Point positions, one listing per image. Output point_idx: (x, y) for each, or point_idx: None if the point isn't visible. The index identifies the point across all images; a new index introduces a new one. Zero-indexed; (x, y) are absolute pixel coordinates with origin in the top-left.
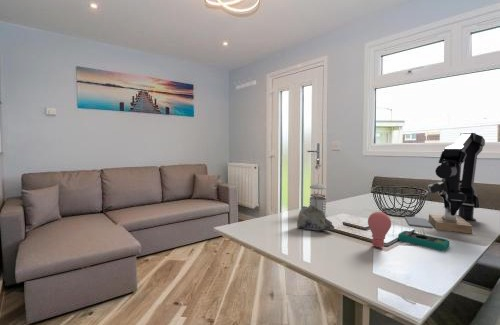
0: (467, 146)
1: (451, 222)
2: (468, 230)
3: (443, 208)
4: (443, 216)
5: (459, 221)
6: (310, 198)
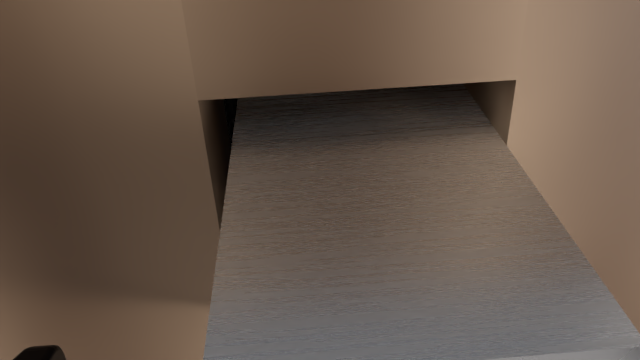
0: None
1: (29, 222)
2: None
3: (524, 299)
4: (389, 143)
5: None
6: None
